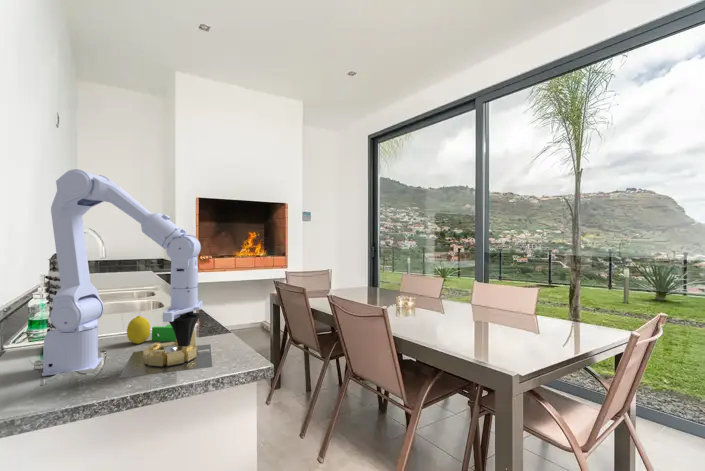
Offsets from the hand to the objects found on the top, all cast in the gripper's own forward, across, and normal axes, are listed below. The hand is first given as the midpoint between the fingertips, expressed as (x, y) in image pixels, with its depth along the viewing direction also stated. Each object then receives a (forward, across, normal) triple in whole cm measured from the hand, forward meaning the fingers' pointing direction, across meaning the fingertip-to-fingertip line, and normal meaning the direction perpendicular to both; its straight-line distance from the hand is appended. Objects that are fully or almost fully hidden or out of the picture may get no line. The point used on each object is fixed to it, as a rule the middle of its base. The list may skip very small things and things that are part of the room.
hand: (184, 345), depth 86 cm
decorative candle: (+5, +10, +37) cm, 38 cm away
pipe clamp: (+5, +18, +12) cm, 22 cm away
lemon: (+5, +14, +20) cm, 24 cm away
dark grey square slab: (+4, +2, +4) cm, 6 cm away
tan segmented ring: (+4, +2, +4) cm, 6 cm away
